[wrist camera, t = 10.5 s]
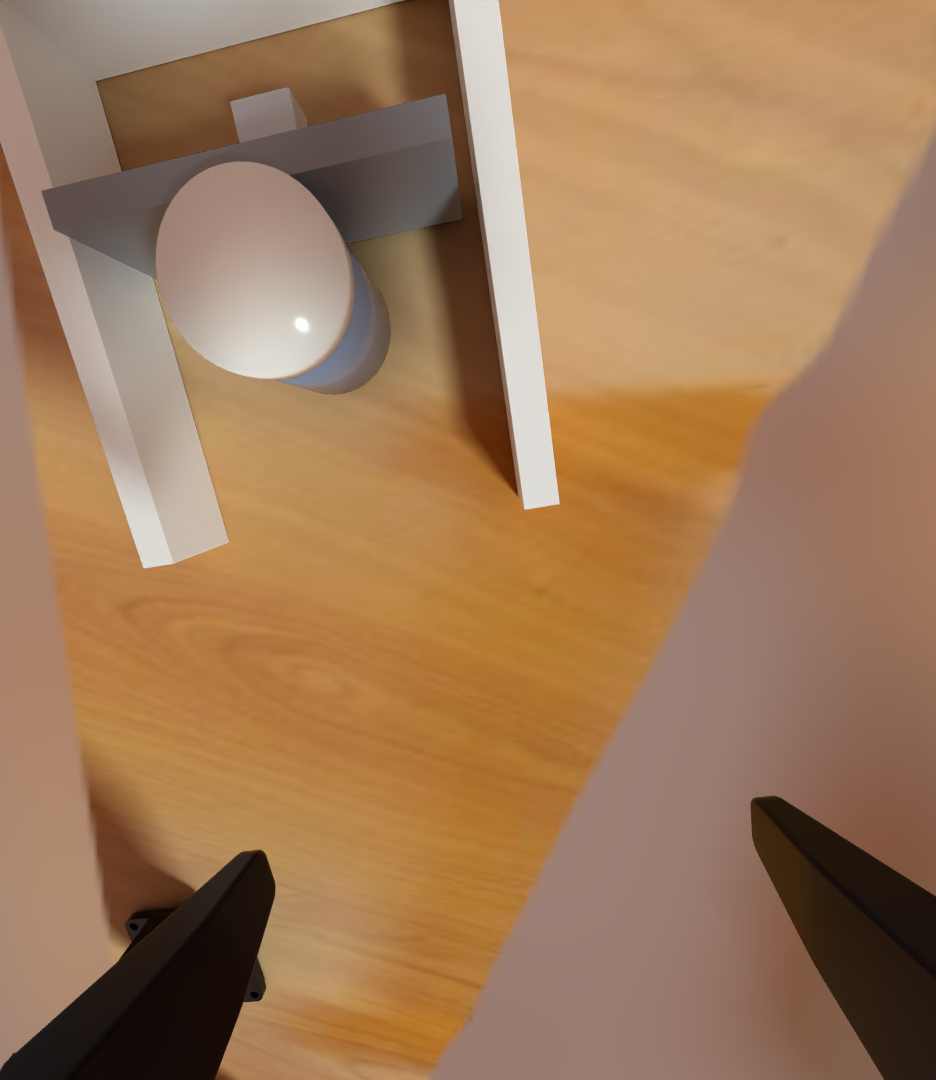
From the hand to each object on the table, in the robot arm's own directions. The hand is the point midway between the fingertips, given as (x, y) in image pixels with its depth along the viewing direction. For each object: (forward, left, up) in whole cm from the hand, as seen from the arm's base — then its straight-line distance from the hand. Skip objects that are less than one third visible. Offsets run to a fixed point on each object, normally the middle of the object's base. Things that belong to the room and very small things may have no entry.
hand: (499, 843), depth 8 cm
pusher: (+17, +5, -12) cm, 21 cm away
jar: (+13, +5, -12) cm, 18 cm away
